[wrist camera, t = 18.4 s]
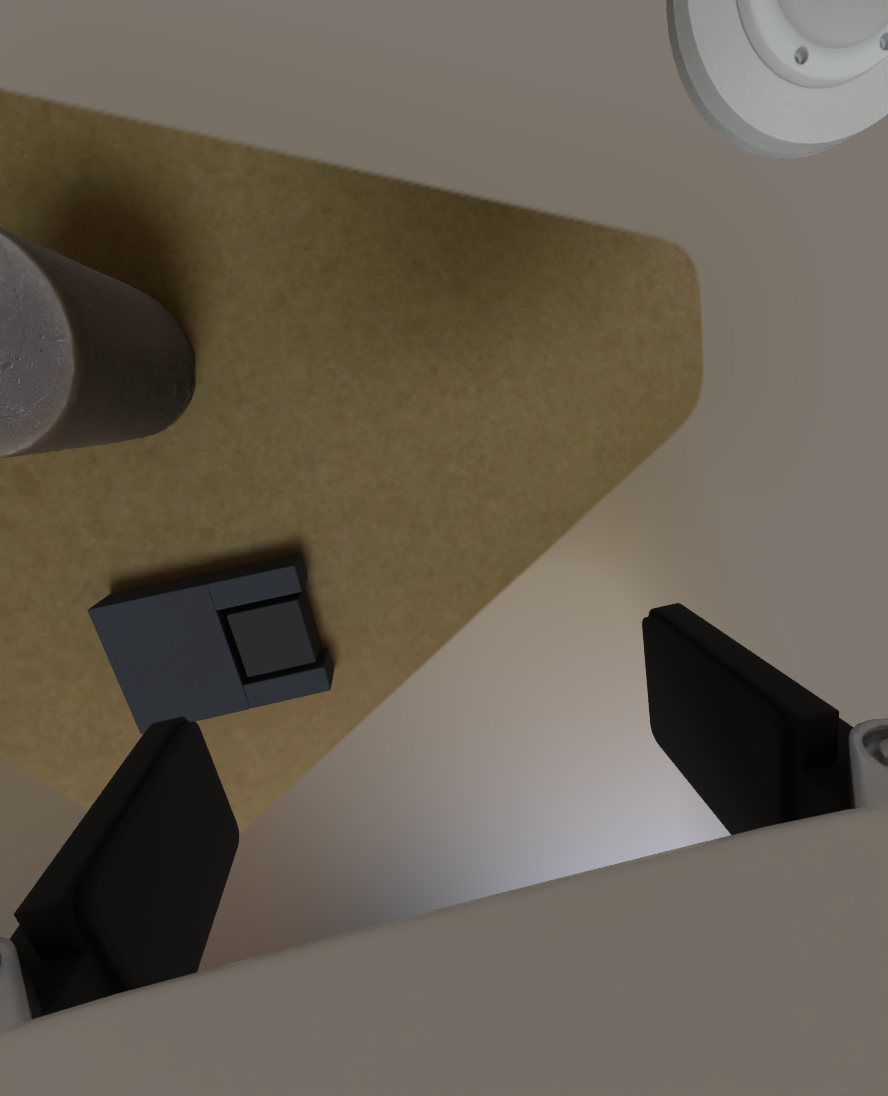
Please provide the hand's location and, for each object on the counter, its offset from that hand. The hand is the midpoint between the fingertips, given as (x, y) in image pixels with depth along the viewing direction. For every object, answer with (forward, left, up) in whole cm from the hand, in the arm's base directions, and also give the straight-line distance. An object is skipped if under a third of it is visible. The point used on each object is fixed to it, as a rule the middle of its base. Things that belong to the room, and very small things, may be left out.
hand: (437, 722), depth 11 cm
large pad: (+15, +8, -28) cm, 33 cm away
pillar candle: (+16, -12, -28) cm, 35 cm away
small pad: (+11, +8, -28) cm, 31 cm away
